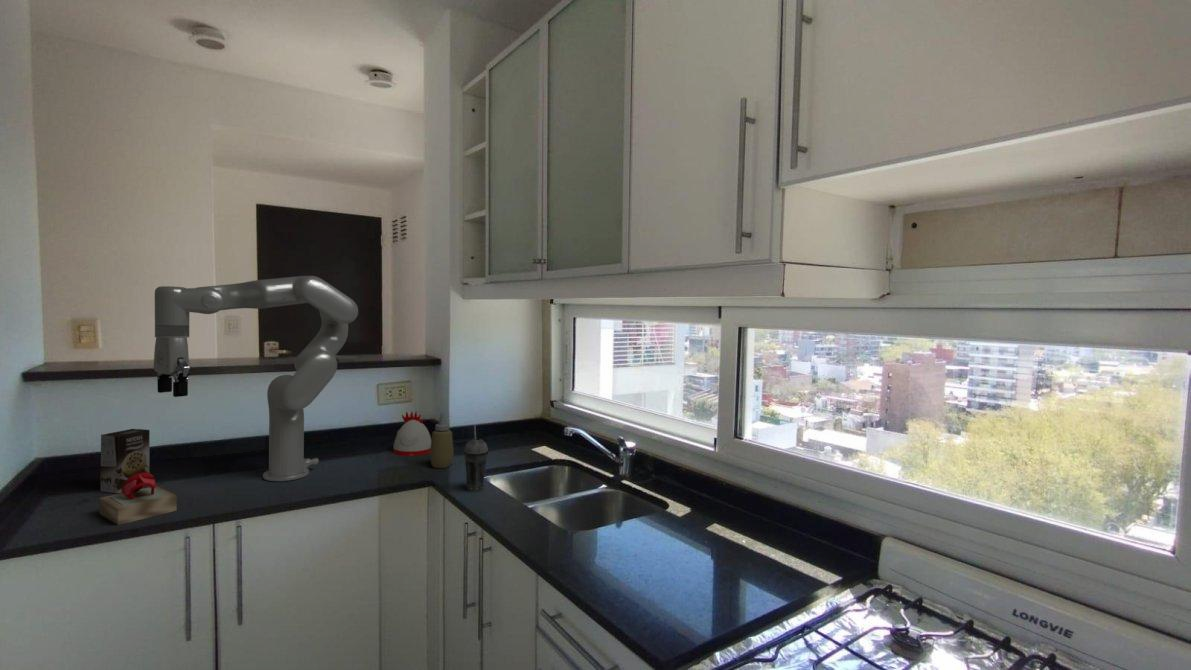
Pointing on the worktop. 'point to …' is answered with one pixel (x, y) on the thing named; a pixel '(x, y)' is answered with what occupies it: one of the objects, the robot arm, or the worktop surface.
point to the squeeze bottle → (441, 445)
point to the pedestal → (137, 505)
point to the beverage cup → (475, 463)
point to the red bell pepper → (138, 484)
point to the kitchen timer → (412, 437)
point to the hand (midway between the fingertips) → (172, 394)
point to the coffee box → (123, 457)
